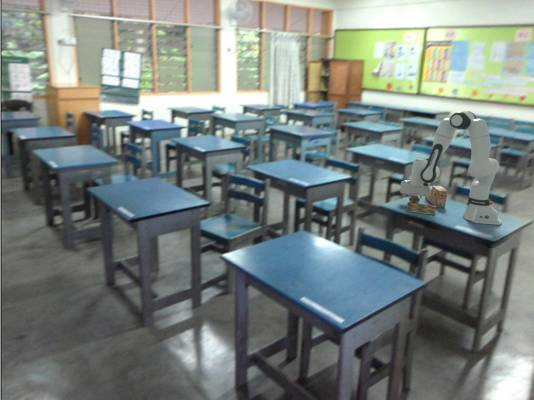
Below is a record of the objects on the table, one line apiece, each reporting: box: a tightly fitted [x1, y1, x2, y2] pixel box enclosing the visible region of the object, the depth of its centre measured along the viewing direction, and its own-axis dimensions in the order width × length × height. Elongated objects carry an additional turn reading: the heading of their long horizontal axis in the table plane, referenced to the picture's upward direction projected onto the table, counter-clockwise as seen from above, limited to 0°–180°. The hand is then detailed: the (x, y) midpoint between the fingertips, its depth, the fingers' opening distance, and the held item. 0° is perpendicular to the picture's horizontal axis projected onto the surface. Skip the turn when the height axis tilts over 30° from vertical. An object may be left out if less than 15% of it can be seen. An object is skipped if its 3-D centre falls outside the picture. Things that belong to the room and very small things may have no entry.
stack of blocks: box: [424, 185, 448, 208], centre depth 311 cm, size 21×6×12 cm, turn 1°
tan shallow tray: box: [406, 201, 437, 216], centre depth 294 cm, size 18×10×3 cm, turn 70°
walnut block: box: [409, 194, 420, 204], centre depth 308 cm, size 12×4×6 cm, turn 169°
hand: (414, 200), depth 308 cm, fingers closed on walnut block, 4 cm apart
